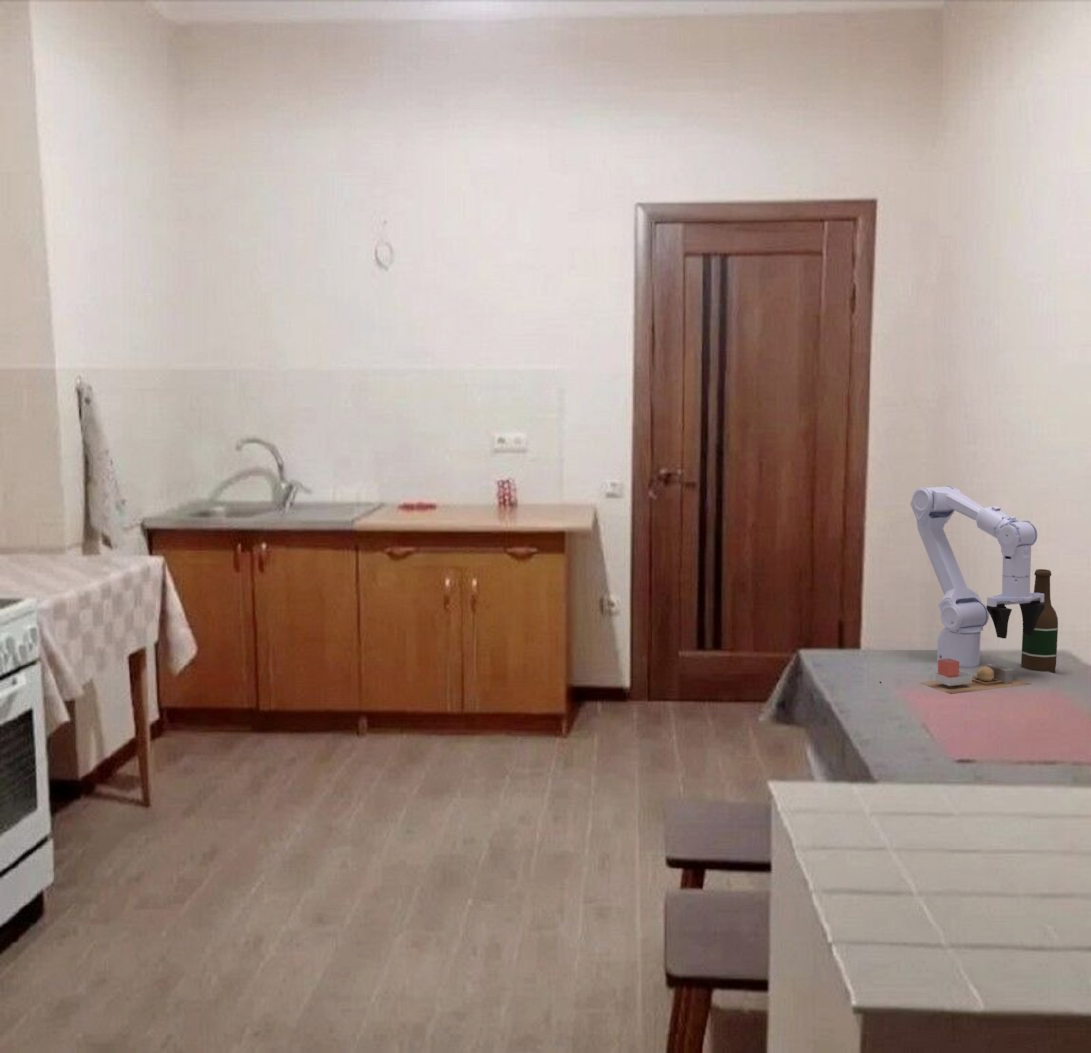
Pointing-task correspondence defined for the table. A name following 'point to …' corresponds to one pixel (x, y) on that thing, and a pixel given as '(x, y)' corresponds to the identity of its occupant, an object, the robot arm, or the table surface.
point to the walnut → (985, 674)
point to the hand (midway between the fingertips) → (1014, 636)
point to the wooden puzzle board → (1000, 680)
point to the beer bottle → (1042, 631)
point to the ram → (951, 673)
